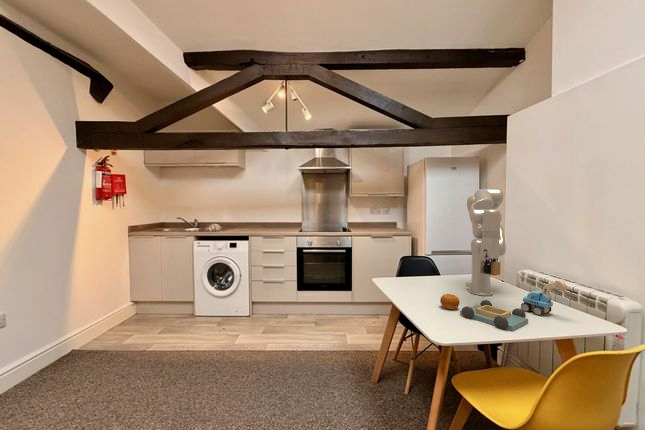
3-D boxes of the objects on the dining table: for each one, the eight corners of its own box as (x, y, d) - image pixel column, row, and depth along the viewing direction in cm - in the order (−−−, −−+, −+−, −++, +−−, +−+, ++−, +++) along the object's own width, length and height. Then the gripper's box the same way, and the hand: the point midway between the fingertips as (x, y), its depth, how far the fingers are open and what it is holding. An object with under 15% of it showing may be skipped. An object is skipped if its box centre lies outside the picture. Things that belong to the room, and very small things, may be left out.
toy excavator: (558, 321, 131) (559, 282, 131) (518, 310, 146) (519, 274, 146) (568, 318, 135) (569, 280, 135) (528, 307, 150) (529, 273, 150)
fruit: (463, 300, 149) (454, 287, 148) (462, 311, 142) (452, 297, 141) (447, 304, 154) (438, 292, 153) (445, 315, 147) (436, 302, 146)
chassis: (458, 315, 138) (458, 304, 138) (478, 308, 148) (478, 298, 148) (510, 332, 120) (511, 319, 120) (529, 322, 130) (529, 311, 130)
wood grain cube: (480, 273, 148) (480, 260, 148) (485, 272, 151) (485, 260, 151) (495, 275, 142) (495, 262, 142) (500, 274, 145) (500, 262, 145)
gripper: (491, 234, 154) (490, 269, 154) (474, 235, 144) (473, 273, 144) (507, 235, 148) (506, 272, 148) (490, 236, 138) (489, 276, 138)
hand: (490, 272), depth 146 cm, fingers closed on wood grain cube, 5 cm apart
